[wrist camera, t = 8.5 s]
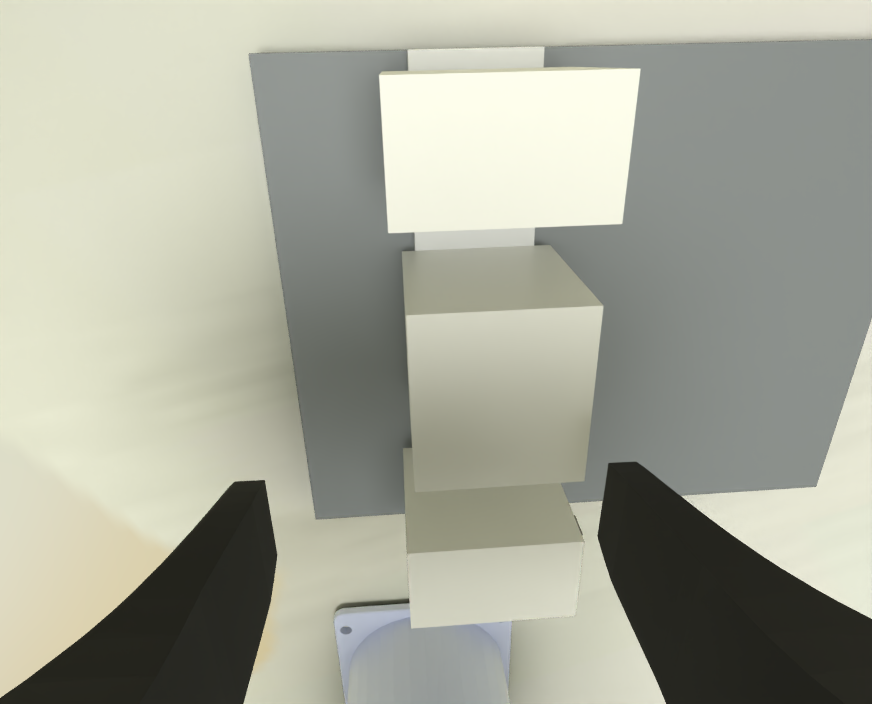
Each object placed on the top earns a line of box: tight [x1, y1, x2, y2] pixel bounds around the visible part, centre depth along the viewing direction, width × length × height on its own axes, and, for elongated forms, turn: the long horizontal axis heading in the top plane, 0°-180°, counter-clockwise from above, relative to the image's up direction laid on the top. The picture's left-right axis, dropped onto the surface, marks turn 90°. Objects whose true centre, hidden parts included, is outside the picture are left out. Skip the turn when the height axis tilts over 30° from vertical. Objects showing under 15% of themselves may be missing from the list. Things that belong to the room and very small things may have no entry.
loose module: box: [402, 245, 603, 492], centre depth 17 cm, size 5×4×5 cm
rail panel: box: [249, 39, 872, 629], centre depth 18 cm, size 16×20×7 cm
